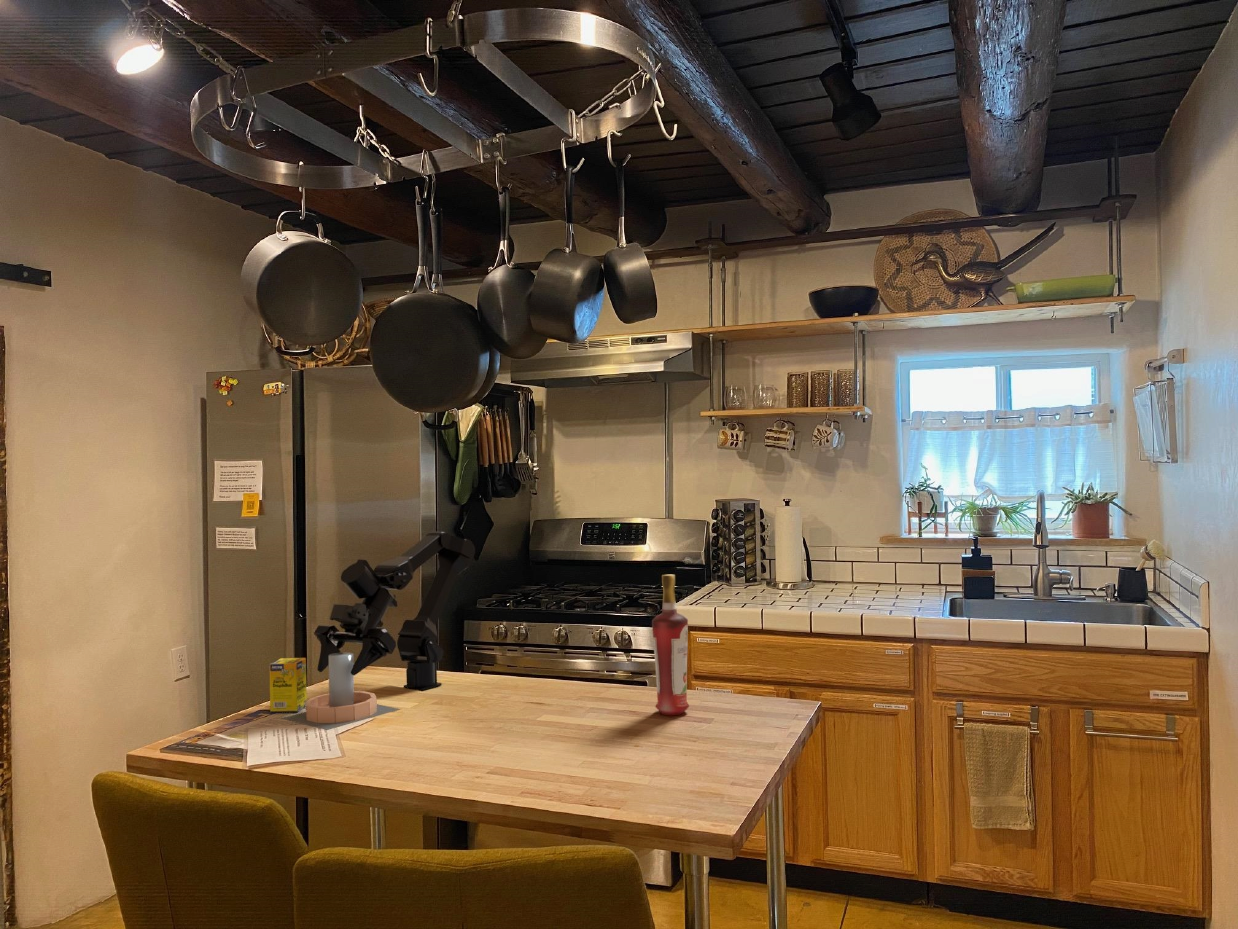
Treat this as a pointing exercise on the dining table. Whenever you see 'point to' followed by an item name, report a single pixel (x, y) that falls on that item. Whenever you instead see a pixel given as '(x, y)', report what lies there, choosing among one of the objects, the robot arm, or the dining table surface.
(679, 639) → the liquor
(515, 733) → the dining table surface
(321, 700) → the dish
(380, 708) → the mat
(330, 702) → the cylinder
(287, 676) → the supplement box
